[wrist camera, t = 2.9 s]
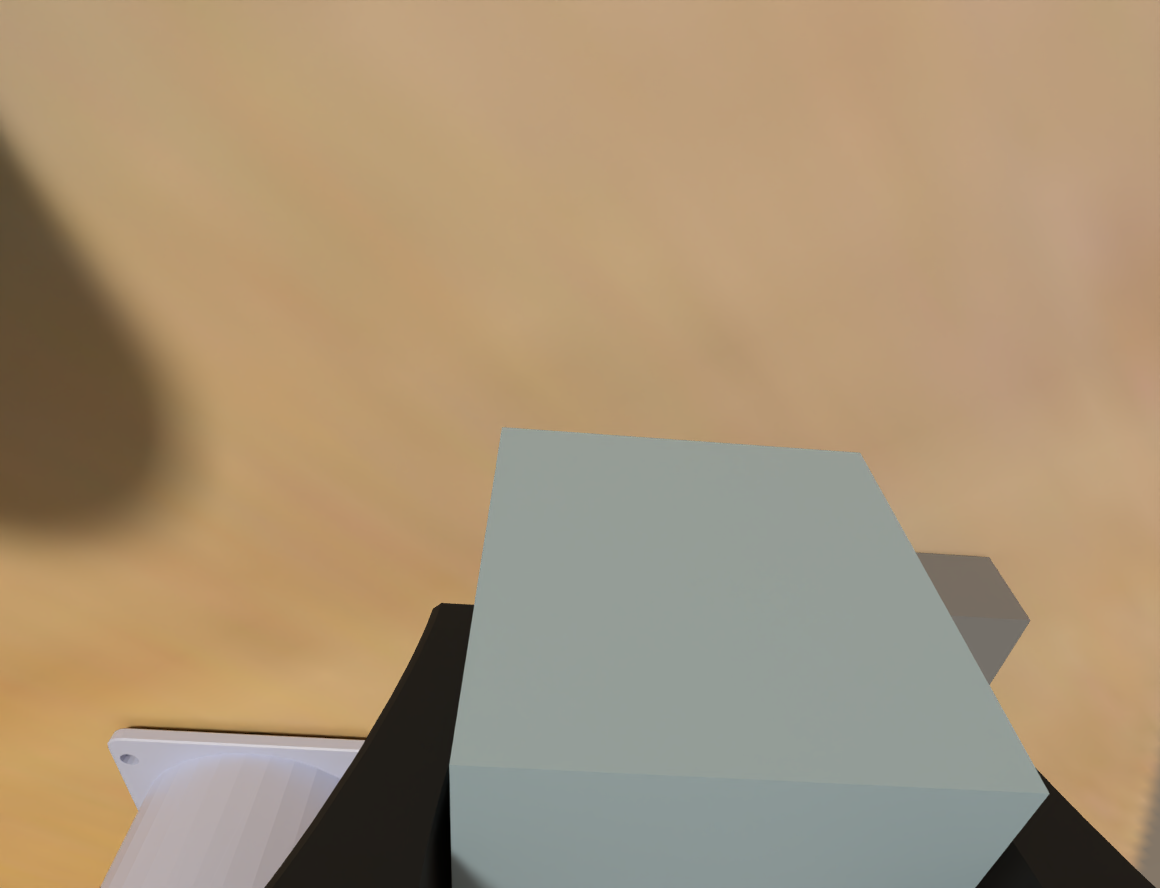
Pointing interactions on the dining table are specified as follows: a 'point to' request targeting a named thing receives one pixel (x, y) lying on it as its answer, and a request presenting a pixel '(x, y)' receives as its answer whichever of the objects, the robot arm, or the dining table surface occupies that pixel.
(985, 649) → the slate base
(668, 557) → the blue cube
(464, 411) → the dining table surface
